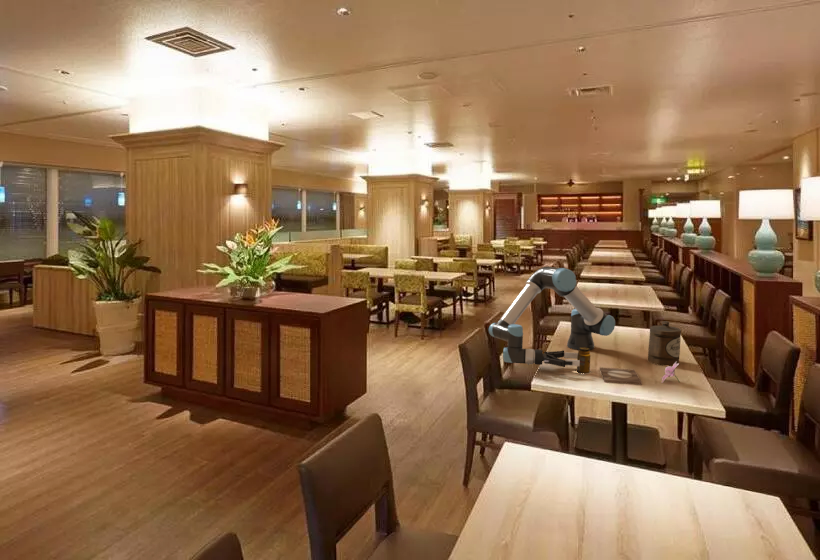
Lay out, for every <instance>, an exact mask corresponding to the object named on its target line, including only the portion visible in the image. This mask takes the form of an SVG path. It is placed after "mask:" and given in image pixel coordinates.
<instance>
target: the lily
mask: <svg viewBox="0 0 820 560" xmlns="http://www.w3.org/2000/svg"><path fill="white" fill-rule="evenodd" d="M679 364H680V362H679V363H678V364H676V362H675V363H674V364H673V366H666V367H665V369H664V373H665V374H664V375H663V376H662V377H661V384H662V383H664V381H665V380H666V379H667V378H669V377H671V378H672V377H675V378H676V379H677V381H678V382H680V380H679V378H678V376H676V375H675V373H676V371H675V369H676V368H677V367H678V366H679Z"/></svg>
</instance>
